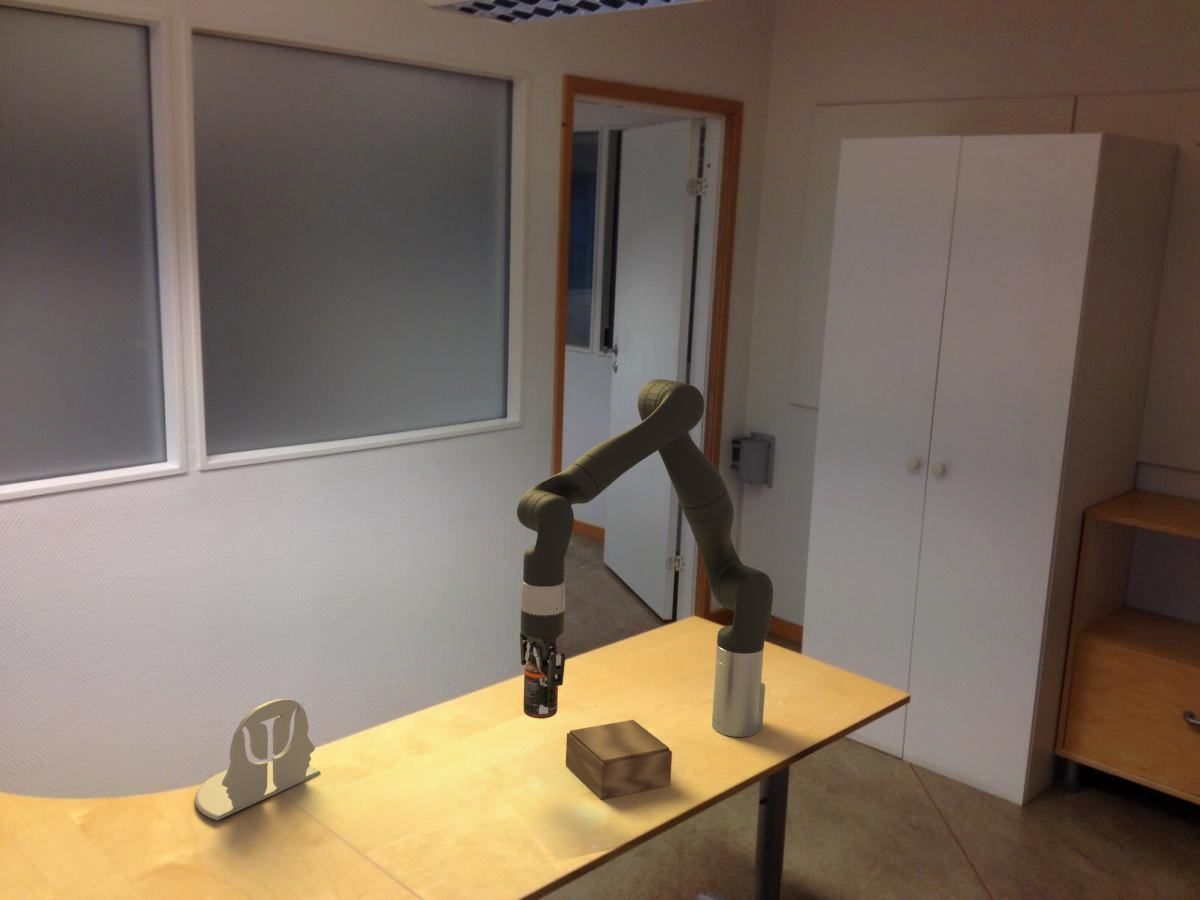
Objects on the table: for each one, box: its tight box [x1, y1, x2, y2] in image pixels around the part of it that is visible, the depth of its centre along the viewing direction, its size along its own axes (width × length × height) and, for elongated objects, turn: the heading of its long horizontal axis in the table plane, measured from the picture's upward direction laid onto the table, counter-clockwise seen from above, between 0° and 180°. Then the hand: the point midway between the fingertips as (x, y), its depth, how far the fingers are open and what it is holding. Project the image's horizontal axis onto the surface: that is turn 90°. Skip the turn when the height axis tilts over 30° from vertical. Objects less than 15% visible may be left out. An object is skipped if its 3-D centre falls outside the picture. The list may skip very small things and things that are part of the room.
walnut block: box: [565, 719, 673, 801], centre depth 200 cm, size 14×14×7 cm
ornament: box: [194, 698, 321, 821], centre depth 191 cm, size 22×13×17 cm, turn 145°
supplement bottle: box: [522, 651, 559, 720], centre depth 193 cm, size 6×6×11 cm
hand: (540, 698), depth 193 cm, fingers closed on supplement bottle, 6 cm apart
